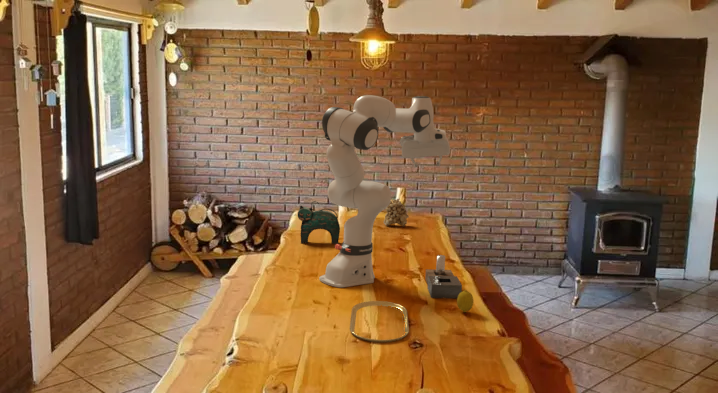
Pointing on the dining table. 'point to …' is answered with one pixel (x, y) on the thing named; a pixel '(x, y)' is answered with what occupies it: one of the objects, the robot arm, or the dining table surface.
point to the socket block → (433, 273)
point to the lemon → (465, 301)
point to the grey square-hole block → (444, 286)
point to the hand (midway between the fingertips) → (427, 166)
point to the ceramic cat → (318, 223)
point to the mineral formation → (396, 213)
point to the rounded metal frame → (377, 303)
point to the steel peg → (440, 265)
